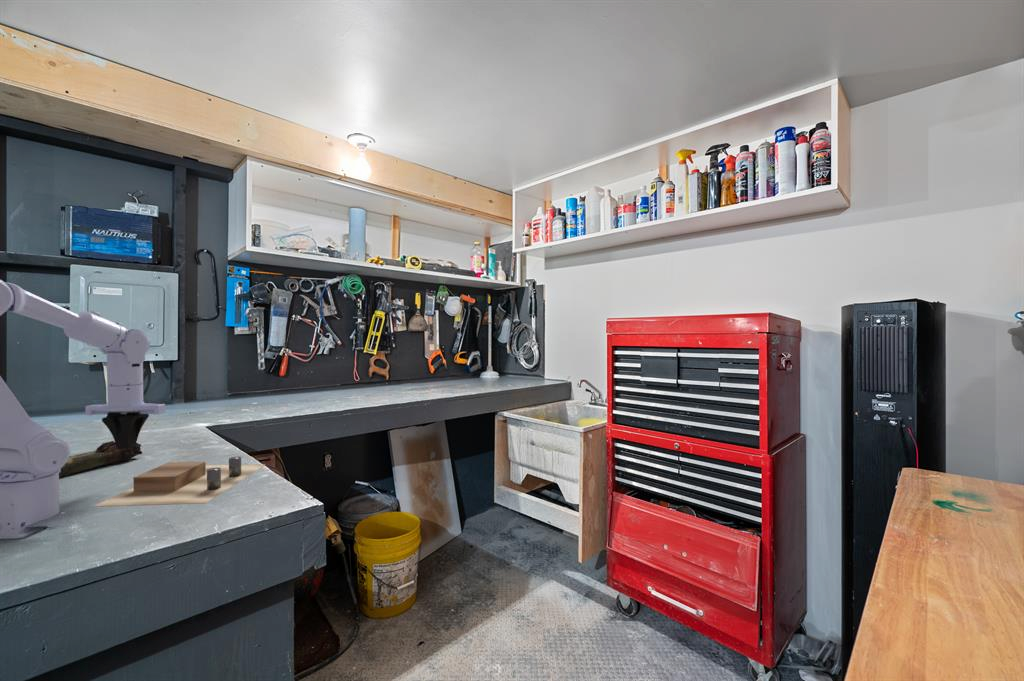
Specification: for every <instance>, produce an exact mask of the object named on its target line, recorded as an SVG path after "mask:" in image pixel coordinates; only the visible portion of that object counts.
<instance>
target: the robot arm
mask: <svg viewBox="0 0 1024 681" xmlns="http://www.w3.org/2000/svg"><path fill="white" fill-rule="evenodd" d="M5 312H11V313H15V314H18V315H21V316H24V317H27V318H31V319H33V320H36V321H40V322H43V323H46V324H49V325H52V326H55V327H58V328H61V329H63V331H64V334H65V336H66V337H68V338H70V339H73V340H74V341H78V342H81V343H84V344H87V345H89V346H92V347H95V348H98V349H99V350H100V352H101V353H102V354H104V355H106V380H107V381H106V383H107V385H106V386H107V387H106V389H107V392H106V393H107V398H106V399H107V403H104V404H103V403H102V404H100V403H99V404H90V405H86V406H85V408H84V409H85V412H84V413H85V416H93V415H106V416H105V417H101V421H102V424H104V426H106V428H107V429H108V430H109V432H110V434H111V435H112V437H113V439H114V442H115V443H116V446H117V448H118V449H122V448H125V449H129V448H132V447H135V446H136V443H138V442H137V441H138V438H139V436H140V435H139V434H140V432H141V430H142V428H143V426H144V424H145V422H146V421H147V420H148V418H149V417H150V415H160V414H165V413H166V404H165V403H151V402H150V403H148V402H144V361H145V360H146V353H147V352H148V350H149V348H150V347H151V341H149V339H148V337H147V335H146V334H145V333H144V331H142V330H140V329H137V328H126V327H125V326H124V324H123V323H122V322H120V321H119V322H117V321H116V322H114V321H111V320H109V319H106V318H104V317H102V316H101V315H102V314H101V313H100V312H98V311H93V310H92V311H87V310H86V311H85V310H82V311H79V312H73V311H71V310H69V309H67V308H64V307H63V306H60V305H58V304H56V303H54V302H51V301H49V300H47V299H45V298H42V297H41V296H38V295H36V294H34V293H31V292H30V291H28V290H25V289H23V288H22V287H21V286H19V285H17V284H14V283H12V282H5V281H3V280H2V279H0V317H1V316H2V315H4V313H5ZM70 454H71V450H70V446H69V445H68V443H67V442H66V441H64V440H63V439H60V438H59V437H56V436H55V435H54V434H53V433H52V432H51V430H50V429H48V428H46V427H44V426H43V425H42V424H40V423H37V422H36V421H34V420H32V418H31V416H29V414H28V413H27V412H26V410H25V409H24V407H23V406H22V405H21V403H20V402H19V400H18V399H17V398H16V396H15V395H14V394H13V392H12V390H11V389H10V388H9V386H8V385H7V383H6V381H4V379H3V377H2V376H1V375H0V540H9V539H13V540H14V539H23V538H26V537H29V536H31V535H32V534H34V533H37V532H39V531H41V530H43V529H45V528H48V527H49V526H48V525H45V526H44V525H43V526H42V525H40V526H30V525H33V524H35V523H38V522H40V521H44V520H47V519H49V518H52V517H54V516H56V515H58V514H59V513H60V511H61V509H60V477H59V473H60V472H61V468H62V467H63V466H64V465H65V463H66V462H67V460H68V458H69V456H70Z"/></svg>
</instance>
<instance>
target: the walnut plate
mask: <svg viewBox="0 0 1024 681" xmlns="http://www.w3.org/2000/svg"><path fill="white" fill-rule="evenodd" d="M205 466H206V461H185V462H184V461H183V462H182V461H181V462H179V461H178V462H172V461H171V462H167V463H164V464H162V465H159V466H157V467H155V468H152V469H150V470H148V471H146V472H144V473H141V474H138V475H136V476H134V477H133V488H134V492H156V491H176V490H178V489H180V488H182V487H184V486H185V485H187V484H189V483H191V482H193V481H195V480H197V479H198V478H200V477H202V476H204V475H206V469H205Z"/></svg>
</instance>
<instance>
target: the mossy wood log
mask: <svg viewBox="0 0 1024 681" xmlns="http://www.w3.org/2000/svg"><path fill="white" fill-rule="evenodd" d="M141 447H142V444H141V443H138V442H136V446H135V447H132V448H129V449H125V448H122V449H118V448H117V446H116V443H115V440H114V441H113V440H111V441H107V442H103V443H102V444H101V445H99V446H98V447H96V449H95V450H93V451H89V452H84V453H79V454H74V455H71V456H70V455H69V458H68V460H67V462H66V463H65V465H64V466H63V467H62V468H61V472H60V473H59V478H62V477H66V476H70V475H73V474H76V473H79V472H82V471H86V470H90V469H93V468H94V469H95V468H98V467H103V466H105V465H112V464H119V463H126V462H127V463H128V462H132V458H134V457H136V456H138V455H143V452H142V448H141Z"/></svg>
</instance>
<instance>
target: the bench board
mask: <svg viewBox="0 0 1024 681" xmlns="http://www.w3.org/2000/svg"><path fill="white" fill-rule="evenodd" d="M261 464H262V465H261ZM261 464H242V456H231V457H229V458H228V464H221V465H219V464H218V465H215V464H214V465H210V464H209V465H207V464H206V465H205V469H206V475H204V476H202V477H200V478H198V479H197V480H195V481H193V482H191V483H189V484H187V485H185V486H184V487H182V488H180V489H178V490H176V491H156V492H134V487H132V488H130V489H127V490H126V491H123V492H120V493H118V494H117V495H115V496H113V497H110V498H108V499H105V500H104V501H101V502H100V503H97V504H95V505H93V506H92V507H93V508H94V507H125V506H126V507H127V506H128V507H129V506H157V505H158V506H159V505H160V506H162V505H166V506H167V505H194V504H207V503H208V502H210V501H211V500H213V499H214V498H216V497H217V496H219V495H221V494H222V493H224V492H225V491H227V490H228V489H230V488H231V487H233V486H235V485H236V484H237V483H239V482H241V481H242V480H244V479H245V478H247V477H249V476H250V475H252V474H253V473H255V472H257V471H258V470H260V469H261V468H262V467H264V466H266V463H265V464H264V463H261Z"/></svg>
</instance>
